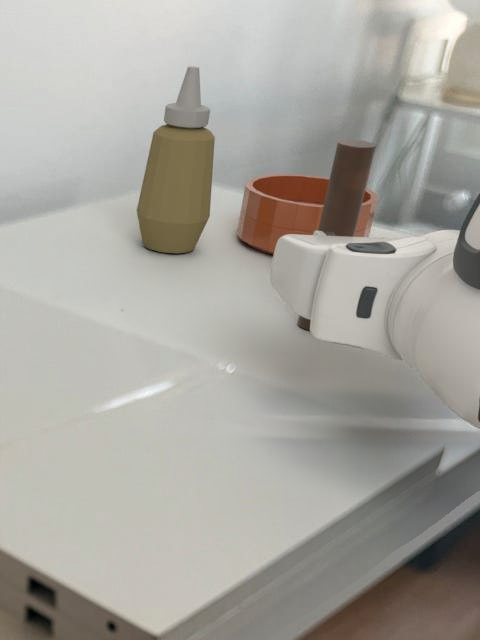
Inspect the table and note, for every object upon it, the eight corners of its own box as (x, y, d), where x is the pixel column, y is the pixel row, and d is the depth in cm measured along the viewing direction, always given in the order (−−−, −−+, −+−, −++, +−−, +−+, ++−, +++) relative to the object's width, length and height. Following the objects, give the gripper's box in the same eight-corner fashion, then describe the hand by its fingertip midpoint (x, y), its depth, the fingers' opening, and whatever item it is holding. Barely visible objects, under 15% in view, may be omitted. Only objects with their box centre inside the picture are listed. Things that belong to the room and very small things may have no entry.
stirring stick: (325, 320, 99) (369, 140, 90) (335, 332, 97) (381, 148, 87) (293, 319, 99) (333, 138, 90) (302, 331, 97) (344, 146, 87)
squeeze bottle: (133, 234, 120) (154, 58, 109) (203, 240, 119) (231, 64, 109) (131, 254, 114) (153, 70, 103) (204, 261, 113) (234, 76, 102)
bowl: (341, 228, 126) (354, 176, 123) (381, 266, 114) (396, 209, 111) (224, 224, 125) (233, 171, 122) (252, 261, 114) (263, 204, 110)
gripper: (600, 260, 72) (513, 207, 83) (312, 249, 70) (263, 197, 81) (566, 348, 75) (487, 286, 86) (292, 338, 74) (248, 277, 85)
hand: (376, 243), depth 84 cm, fingers open, 8 cm apart
